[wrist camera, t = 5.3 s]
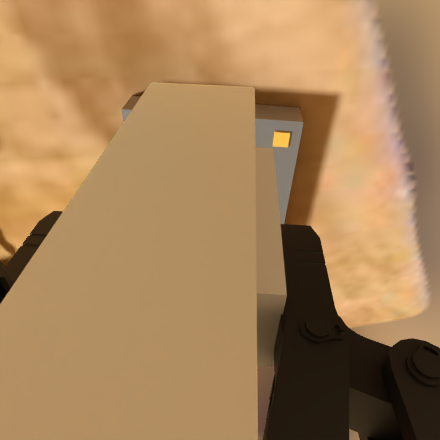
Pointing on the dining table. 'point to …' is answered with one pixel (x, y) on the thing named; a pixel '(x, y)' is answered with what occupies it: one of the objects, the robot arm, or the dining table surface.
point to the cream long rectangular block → (145, 285)
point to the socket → (270, 142)
